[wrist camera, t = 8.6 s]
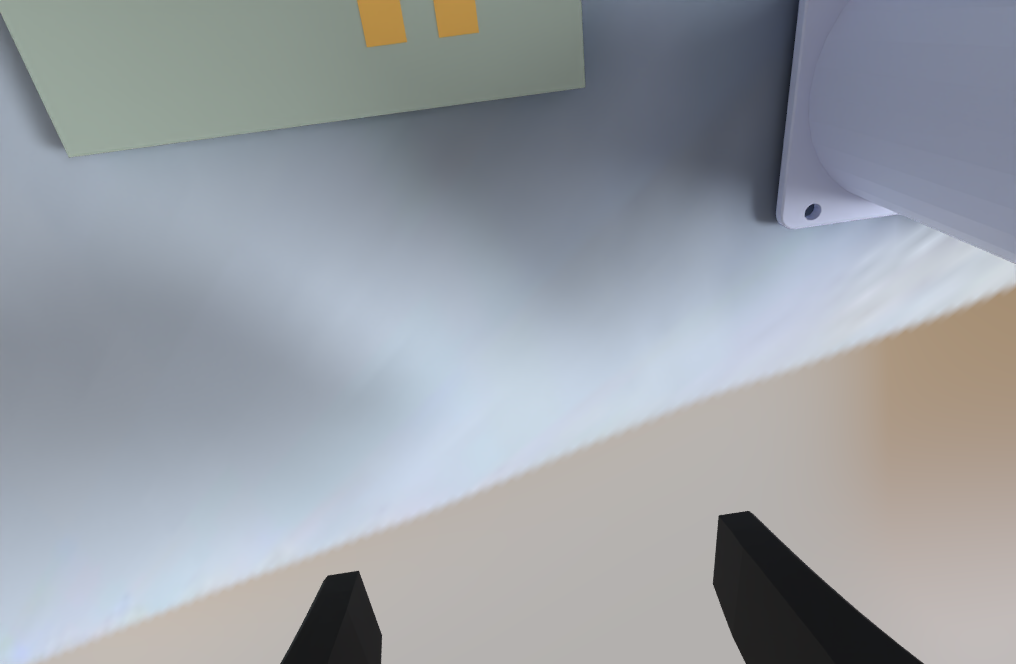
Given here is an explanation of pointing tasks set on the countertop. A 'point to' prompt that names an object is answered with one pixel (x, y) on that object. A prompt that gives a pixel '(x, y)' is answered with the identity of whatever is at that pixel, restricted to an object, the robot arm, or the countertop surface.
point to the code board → (279, 62)
